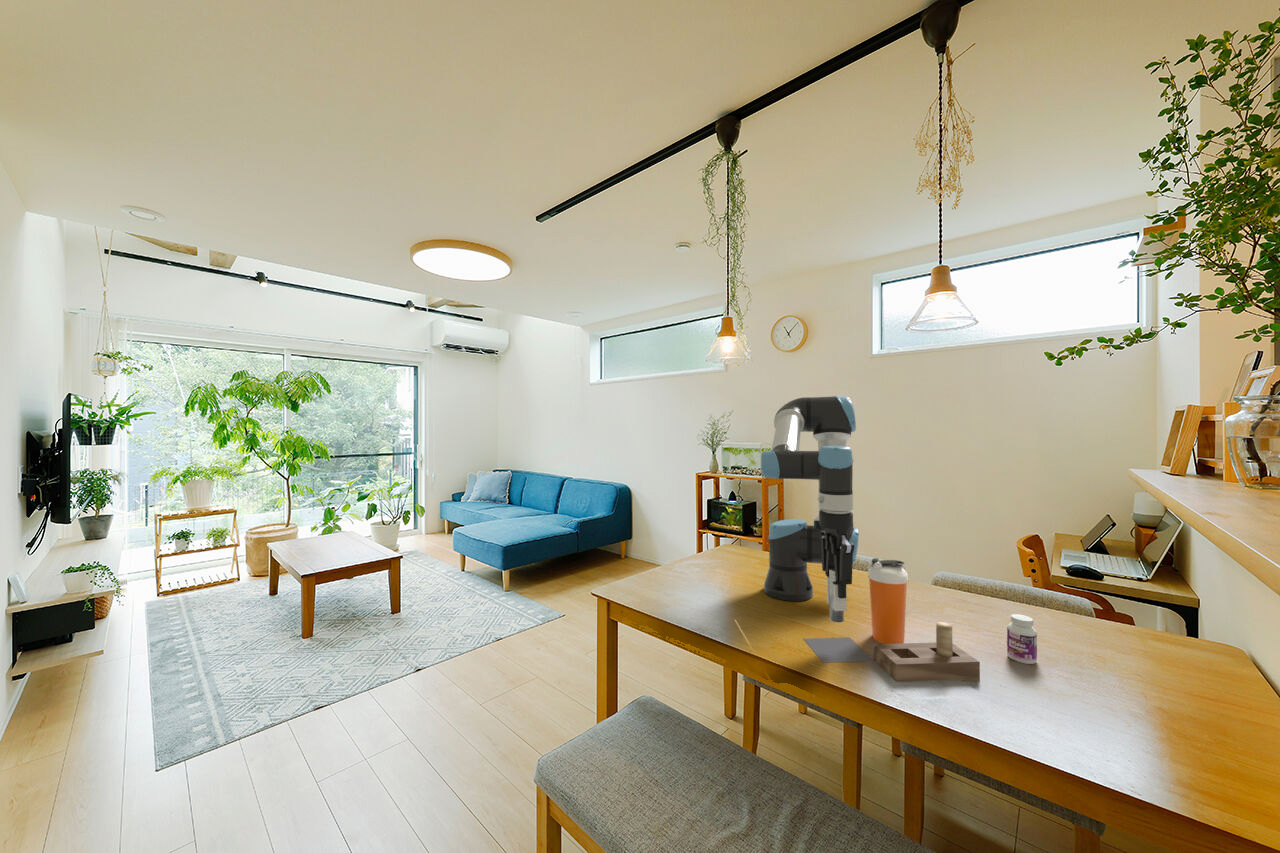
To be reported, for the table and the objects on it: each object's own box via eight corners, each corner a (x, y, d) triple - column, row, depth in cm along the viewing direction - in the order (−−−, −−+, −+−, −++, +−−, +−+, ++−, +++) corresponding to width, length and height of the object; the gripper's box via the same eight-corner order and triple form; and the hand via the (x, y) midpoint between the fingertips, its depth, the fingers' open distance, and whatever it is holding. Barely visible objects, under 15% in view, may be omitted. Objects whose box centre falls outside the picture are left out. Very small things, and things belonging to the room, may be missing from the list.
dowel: (933, 666, 105) (933, 622, 105) (946, 666, 105) (946, 622, 105) (942, 674, 102) (942, 628, 102) (956, 673, 102) (955, 627, 102)
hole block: (873, 661, 108) (873, 644, 108) (950, 659, 108) (950, 642, 108) (896, 683, 99) (896, 664, 99) (979, 680, 99) (979, 661, 99)
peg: (827, 616, 115) (826, 568, 115) (840, 616, 115) (839, 567, 115) (833, 622, 112) (832, 572, 112) (846, 622, 112) (846, 572, 112)
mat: (803, 640, 119) (803, 638, 119) (849, 638, 119) (849, 637, 119) (823, 664, 107) (823, 662, 107) (875, 662, 107) (874, 661, 107)
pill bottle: (1006, 659, 108) (1006, 617, 108) (1007, 651, 112) (1007, 610, 112) (1037, 667, 104) (1036, 624, 104) (1037, 658, 108) (1037, 616, 108)
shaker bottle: (914, 650, 113) (913, 567, 113) (874, 647, 115) (873, 565, 115) (901, 633, 122) (900, 556, 122) (864, 631, 124) (863, 555, 123)
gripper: (807, 504, 121) (808, 594, 121) (835, 518, 105) (836, 622, 105) (835, 503, 121) (836, 593, 122) (868, 517, 105) (869, 621, 106)
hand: (836, 606), depth 114 cm, fingers closed on peg, 3 cm apart
